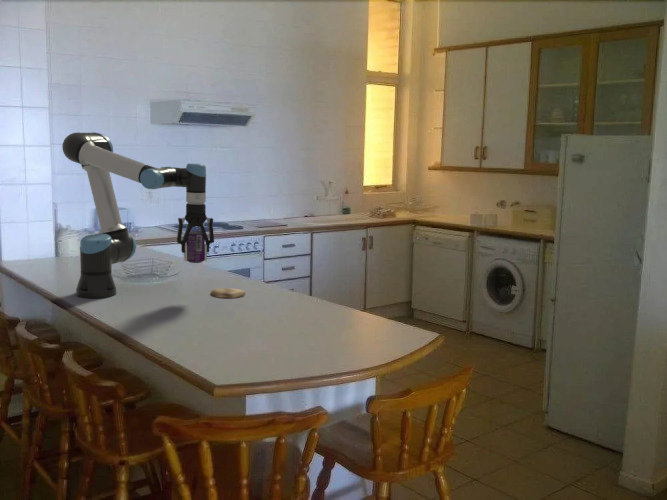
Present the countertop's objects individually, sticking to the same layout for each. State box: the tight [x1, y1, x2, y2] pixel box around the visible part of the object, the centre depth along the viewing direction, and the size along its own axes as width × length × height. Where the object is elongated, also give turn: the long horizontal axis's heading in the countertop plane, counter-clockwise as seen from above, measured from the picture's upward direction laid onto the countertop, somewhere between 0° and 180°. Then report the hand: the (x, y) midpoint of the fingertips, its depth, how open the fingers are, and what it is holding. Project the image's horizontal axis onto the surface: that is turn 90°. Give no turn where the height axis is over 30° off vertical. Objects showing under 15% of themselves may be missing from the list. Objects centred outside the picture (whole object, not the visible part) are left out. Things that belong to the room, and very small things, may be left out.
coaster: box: [210, 287, 246, 299], centre depth 287 cm, size 14×14×1 cm
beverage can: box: [185, 230, 206, 264], centre depth 275 cm, size 7×7×12 cm
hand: (195, 260), depth 276 cm, fingers closed on beverage can, 7 cm apart
